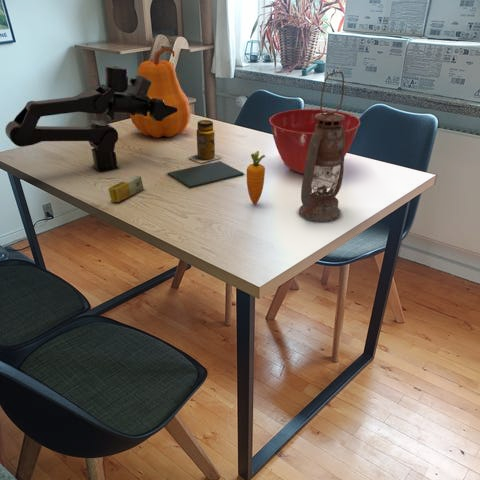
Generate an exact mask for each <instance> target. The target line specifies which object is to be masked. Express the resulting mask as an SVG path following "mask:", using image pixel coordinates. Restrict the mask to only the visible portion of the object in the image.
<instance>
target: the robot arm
mask: <svg viewBox="0 0 480 480" xmlns="http://www.w3.org/2000/svg"><path fill="white" fill-rule="evenodd" d="M104 73H105V84H104V83H103V84H101V85H100V86H98V87H96V89H91V90H87V91H84V92H81V93H79V94H77V95H75V96H69V97H61V98H52V99H43V100H42V99H41V100H30V101H28V102H26V104H25V106H24V107H23V108H22V110H20V111H19V113H18V114H17V115H15V117H14V119H13V120H10V121H9V122H8V123H7V124H6V126H5V135H6V137H7V138H8V139H9V140H10V142H12V143H13V145H15V146H17V147H21V148H23V147H29V146H34V145H36V144H39V143H42V142H88V143H89V145H90V146H91V147H92V148H91V155H92V160H93V164H92V168H94V169H96V170H97V172H99V173H101V172H107V171H111V170H116V169H119V166H118V160H117V153H116V151H115V148H116V144H117V142H118V140H119V133H118V130H117V129H116V128H115V127H113V126H112V125H111V124H109V123H108V122H106V121H104V120H102V119H100V120H92V119H89V124H88V125H86V126H60V125H59V126H58V125H57V126H56V125H55V126H53V125H52V126H51V125H50V126H49V125H47V126H44V125H43V126H42V125H38V123H39V120H40V119H41V118H42V117H49V116H56V115H58V116H59V115H63V114H73V113H86V114H95V115H96V114H97V115H102V114H104V115H106V116H107V118H109V119H110V120H111V121H114V120H115V114H120V115H121V114H124V115H129V116H130V115H135V114H137V115H143V116H147V112H150V115H149V116H150V117H151V118H152V119H154V120H156V121H162V120H163V119H164V118H165V117H167V116H169V115H171V114H173V113H175V112H177V108H175V107H172V106H169V105H165V103H164V101H163V100H162V99H158V98H152V99H150V98H149V96H147V92H148V90H149V87H150V86H151V81H150V80H148V79H146V78H145V77H143V76H140V75H138V74H137V75H136V76H135V77H130V79H129V68H127V67H123V66H117V65H113V66H105V67H104ZM129 84H130V85H131V90H132V92H127V90H128V88H129ZM125 92H127V93H125Z"/></svg>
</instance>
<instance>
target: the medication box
mask: <svg viewBox="0 0 480 480" xmlns="http://www.w3.org/2000/svg"><path fill="white" fill-rule="evenodd" d="M108 191H109V193H108V194H109V198H110V202H112V203H113V202H114V203H119V202H122V201H123V200H126V199H128V198H129V197H131V196H133V195H135V194H137V193H139V192H141V191H144V185H143V180H142V176H141V175H133V176H131V177H129V178H127V179H125V180H123V181H121V182H119V183H117V184H115V185H113V186H110V187H108Z"/></svg>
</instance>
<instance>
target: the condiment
mask: <svg viewBox="0 0 480 480" xmlns="http://www.w3.org/2000/svg"><path fill="white" fill-rule="evenodd" d="M196 124H197V129H196V150H197V154H195V155H191V156H188V159H190V160H192V161H195V162H196V163H200V164H203V163H206V162H210V161H215V160H217V159H220V158H221V157H220V156H217V155H216V144H215V143H216V141H215V129H214V122H213V121H212V120H210V119H201V120H198V121H197V123H196Z"/></svg>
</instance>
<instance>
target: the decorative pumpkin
mask: <svg viewBox="0 0 480 480" xmlns="http://www.w3.org/2000/svg"><path fill="white" fill-rule="evenodd" d="M167 51H170V52H171V54H172V57H173V58H174V57H175V51H174V50H173V49H172V47H167V46H166V47H165V46H163V47H162V48H161V49H159V50H157V51H156V52H155V53H154V58H153V60H150V59H149V60H144V61H143V62H141V63H140V64H139V66H138V71H137V76H138V75H140V76H143V77H145V78H146V79H148V80H150V81H151V86H150V87H149V90H148V92H147V96H149V98H150V99H152V98H158V99H162V100H163V101H164V103H165V105H169V106H172V107H175V108H177V112H175V113H173V114H171V115H169V116H167V117H165V118H164V119H163V120H162V121H156V120H154V119H152V118H151V117H150V116H149V115H150V112H147V116H143V115H137V114H135V115H130V114H129V117H130V120H131V123H132V124H133V125H134V127H135V128H136V129H137V130H138V131H139V132H140V133H142V134H143V135H145V136H147V137H151V136H152V137H153V138H157V139H158V138H162V137H163V136H164V137H166V138H170V137H174V136H175V135H180V134H181V133H183V132H184V131H185V129H186V128H187V127H188V125H189V123H190V121H191V113H192V112H191V111H192V110H191V106H190V103H189V100H188V99H189V98H188V96H187V95H186V93H185V92H184V90H183V88H182V87H181V85H180V82H179V79H178V77H177V72H176V69H175V66H174V65H173V63H172V62H171V61H169V60H165V59H162V60H161V56H162V55H164V54H165V52H167Z"/></svg>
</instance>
